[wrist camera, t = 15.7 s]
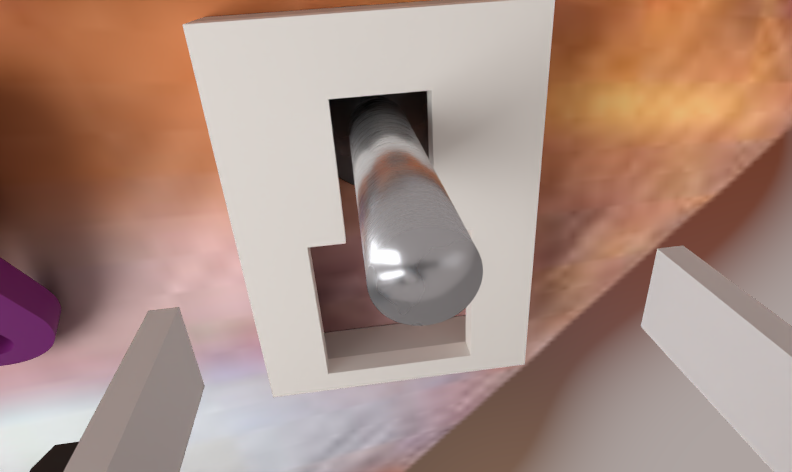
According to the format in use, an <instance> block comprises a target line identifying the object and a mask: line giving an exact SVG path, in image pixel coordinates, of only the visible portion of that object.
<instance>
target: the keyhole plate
mask: <svg viewBox="0 0 792 472" xmlns="http://www.w3.org/2000/svg"><path fill="white" fill-rule="evenodd" d="M554 7H555V0H432V1H418V2H405V3H391V4H377V5H363V6H350V7H336V8H322V9H309V10H295V11H281V12H267V13H254V14H240V15H226V16H212V17H203V18H200V19H197V20H194V21H191V22H188V23H186V24H183V29H184V33H185V37H186V41H187V45H188V49H189V53H190V58H191V62H192V66H193V70H194V74H195V78H196V82H197V86H198V90H199V94H200V99H201V103H202V107H203V111H204V115H205V119H206V123H207V127H208V131H209V136H210V140H211V144H212V148H213V152H214V156H215V160H216V164H217V168H218V173H219V177H220V181H221V185H222V189H223V193H224V197H225V201H226V205H227V210H228V214H229V218H230V222H231V226H232V230H233V234H234V238H235V242H236V246H237V251H238V255H239V259H240V263H241V267H242V271H243V275H244V279H245V283H246V288H247V292H248V296H249V300H250V304H251V308H252V312H253V316H254V320H255V325H256V329H257V333H258V337H259V341H260V345H261V349H262V353H263V357H264V362H265V366H266V370H267V374H268V378H269V382H270V386H271V390H272V394H273V397H280V396H288V395H296V394H303V393H311V392H318V391H326V390H333V389H341V388H349V387H356V386H364V385H371V384H379V383H387V382H394V381H402V380H409V379H417V378H425V377H432V376H440V375H447V374H455V373H463V372H470V371H478V370H485V369H493V368H501V367H508V366H516V365H523V364H525V354H526V342H527V330H528V318H529V306H530V294H531V282H532V270H533V258H534V246H535V234H536V222H537V210H538V198H539V186H540V174H541V162H542V150H543V138H544V126H545V114H546V102H547V90H548V78H549V66H550V54H551V42H552V31H553V19H554ZM418 91H427V109H428V143H429V160H430V162H431V164H432V166H433V168H434V170H435V172H436V174H437V175H438V177H439V179H440V181H441V183H442V185H443V187H444V188H445V190H446V192H447V194H448V196H449V198H450V200H451V202H452V203H453V205H454V207H455V209H456V211H457V213H458V215H459V216H460V218H461V220H462V222H463V224H464V226H465V228H466V230H467V231H468V233H469V235H470V237H471V239H472V241H473V243H474V244H475V246H476V248H477V250H478V252H479V254H480V257H481V259H482V264H483V277H482V282H481V285H480V288H479V290H478V292H477V294H476V296H475V297H474V299H473V300H472V301H471V303H470V304H469V305H468V306H467V307H466V315H465V316H457V317H452V318H450V319H448V320H445V321H443V322H440V323H436V324H432V325H424V326H413V325H406V324H402V323H400V324H392V325H384V326H376V327H368V328H359V329H351V330H343V331H335V332H327V333H324V330H323V324H322V318H321V312H320V306H319V299H318V293H317V287H316V281H315V275H314V269H313V263H312V256H311V250H310V247H317V246H326V245H336V244H345V243H346V235H345V225H344V217H343V209H342V201H341V193H340V184H339V176H338V168H337V160H336V152H335V144H334V135H333V127H332V119H331V111H330V103H329V99H338V98H349V97H361V96H372V95H384V94H395V93H407V92H418Z"/></svg>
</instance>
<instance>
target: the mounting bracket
mask: <svg viewBox="0 0 792 472" xmlns="http://www.w3.org/2000/svg"><path fill="white" fill-rule="evenodd" d="M60 314H61V306H60V303H59V301H58V299H57V298H56V297H55V296H54V295H53V294H52V293H51V292H50V291H49V290H47V289H46V288H45V287H43V286H42V285H40V284H39V283H37V282H36V281H34V280H33V279H31V278H30V277H28V276H27V275H26V274H24V273H23V272H21V271H20V270H18V269H17V268H15V267H14V266H12V265H11V264H9V263H8V262H6V261H5V260H3V259H2V258H0V366H3V365H10V364H15V363H20V362H24V361H27V360H30V359H33V358H36V357H38V356H40V355H42V354H43V353H45V352H46V351H48V350H49V349H50V348H51V347H52V345H53V343H54V341H55V336H56V332H57V327H58V323H59V318H60Z"/></svg>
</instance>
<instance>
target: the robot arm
mask: <svg viewBox="0 0 792 472" xmlns="http://www.w3.org/2000/svg"><path fill="white" fill-rule="evenodd" d="M641 327H642V329H643V330H645V332H646V333H647V334H648V335H649V336H650V337H651V338H652V340H653V341H654V342H655V343H656V344H657V345H658V346H659V347H660V348H661V349H662V350H663V352H664V353H665V354H666V355H667V356H668V357H669V358H670V359H671V360H672V361H673V363H674V364H675V365H676V366H677V367H678V368H679V369H680V370H681V371H682V372H683V373H684V374H685V375H686V377H687V378H688V379H689V380H690V381H691V382H692V383H693V384H694V385H695V387H696V388H697V389H698V390H699V391H700V392H701V393H702V394H703V395H704V396H705V397H706V399H707V400H708V401H709V402H710V403H711V404H712V405H713V406H714V407H715V408H716V410H717V411H718V412H719V413H720V414H721V415H722V416H723V417H724V418H725V419H726V420H727V422H728V423H729V424H730V425H731V426H732V427H733V428H734V429H735V430H736V431H737V433H738V434H739V435H740V436H741V437H742V438H743V439H744V440H745V441H746V442H747V444H749V446H750V447H751V448H752V449H753V450H754V451H755V452H756V453H757V454H758V456H759V457H760V458H761V459H762V460H763V461H764V462H765V463H766V464H767V465H768V467H769V468H770V469H771V470H772V471H773V472H792V326H791V325H789V324H788V323H787V322H785V321H784V320H783V319H781V318H780V317H779V316H777V315H776V314H775V313H773V312H772V311H771V310H769V309H768V308H766V307H765V306H764V305H762V304H761V303H759V302H758V301H757V300H756V299H754V298H753V297H752V296H750V295H749V294H748V293H746V292H745V291H744V290H742V289H741V288H739V287H738V286H737V285H735V284H734V283H732V282H731V281H730V280H729V279H727V278H726V277H724V276H723V275H722V274H721V273H719V272H718V271H717V270H715V269H714V268H712V267H711V266H710V265H708V264H707V263H706V262H704V261H703V260H702V259H700V258H699V257H698V256H696V255H695V254H694V253H692V252H691V251H690V250H688V249H687V248H686V247H684V246H676V247H668V248H659V249H657V253H656V258H655V263H654V267H653V272H652V277H651V281H650V286H649V291H648V295H647V300H646V305H645V310H644V315H643V319H642V324H641ZM203 390H204V383H203V380H202V377H201V374H200V370H199V367H198V364H197V361H196V358H195V355H194V352H193V349H192V346H191V343H190V340H189V336H188V333H187V330H186V327H185V324H184V321H183V318H182V315H181V312H180V309H179V307H175V308H167V309H159V310H151V311H148V313H147V315H146V316H145V318H144V320H143V322H142V324H141V326H140V328H139V330H138V332H137V333H136V335H135V337H134V339H133V341H132V343H131V345H130V347H129V349H128V350H127V352H126V354H125V356H124V358H123V360H122V362H121V364H120V366H119V367H118V369H117V371H116V373H115V375H114V377H113V379H112V381H111V383H110V384H109V386H108V388H107V390H106V392H105V394H104V396H103V398H102V400H101V401H100V403H99V405H98V407H97V409H96V411H95V413H94V415H93V417H92V419H91V420H90V422H89V424H88V426H87V428H86V430H85V432H84V434H83V436H82V437H81V439H80V441H79V442H74V443H67V444H60V445H55V446H54V447H53V448H52V449H51V450H50V451H49V452H48V453H47V454H46V455H45V456H44V457H43V458H42V459H41V460H40V461H39V462H38V463H37V464H36V465H35V466H34V467H32V468H31V470H30V472H179V471H180V468H181V465H182V461H183V458H184V454H185V451H186V448H187V444H188V441H189V437H190V434H191V430H192V427H193V424H194V420H195V417H196V413H197V410H198V407H199V403H200V400H201V396H202V393H203Z"/></svg>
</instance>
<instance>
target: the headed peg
mask: <svg viewBox="0 0 792 472" xmlns="http://www.w3.org/2000/svg"><path fill="white" fill-rule="evenodd" d="M329 103H330V111H331V119H332V127H333V135H334V144H335V152H336V160H337V168H338V176H339V177H340V178H341V179H343V180H344V181H346V182H348V183H350V184H353V185H355V190H356V199H357V207H358V215H359V224H360V232H361V240H362V248H363V257H364V265H365V273H366V282H367V288H368V293H369V296H370V298H371V300H372V302H373V304H374V305H375V306H376V308H377V309H378V310H379V311H380V312H381V313H382V314H384V315H385V316H386V317H388V318H390V319H392V320H394V321H396V322H399V323H402V324H406V325H413V326H424V325H432V324H436V323H440V322H443V321H445V320H448V319H450V318H452V317H454V316H455V315H457V314H458V313H460V312H461V311H462V310H463V309H465V308H466V307H467V306H468V305H469V304H470V303H471V301H472V300H473V299H474V297H475V296H476V294H477V292H478V290H479V288H480V285H481V282H482V277H483V264H482V259H481V257H480V254H479V252H478V250H477V248H476V246H475V244H474V243H473V241H472V239H471V237H470V235H469V233H468V231H467V230H466V228H465V226H464V224H463V222H462V220H461V218H460V216H459V215H458V213H457V211H456V209H455V207H454V205H453V203H452V202H451V200H450V198H449V196H448V194H447V192H446V190H445V188H444V187H443V185H442V183H441V181H440V179H439V177H438V175H437V174H436V172H435V170H434V168H433V166H432V164H431V162H430V160H429V143H428V109H427V91H418V92H407V93H395V94H384V95H372V96H361V97H349V98H338V99H329Z"/></svg>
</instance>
